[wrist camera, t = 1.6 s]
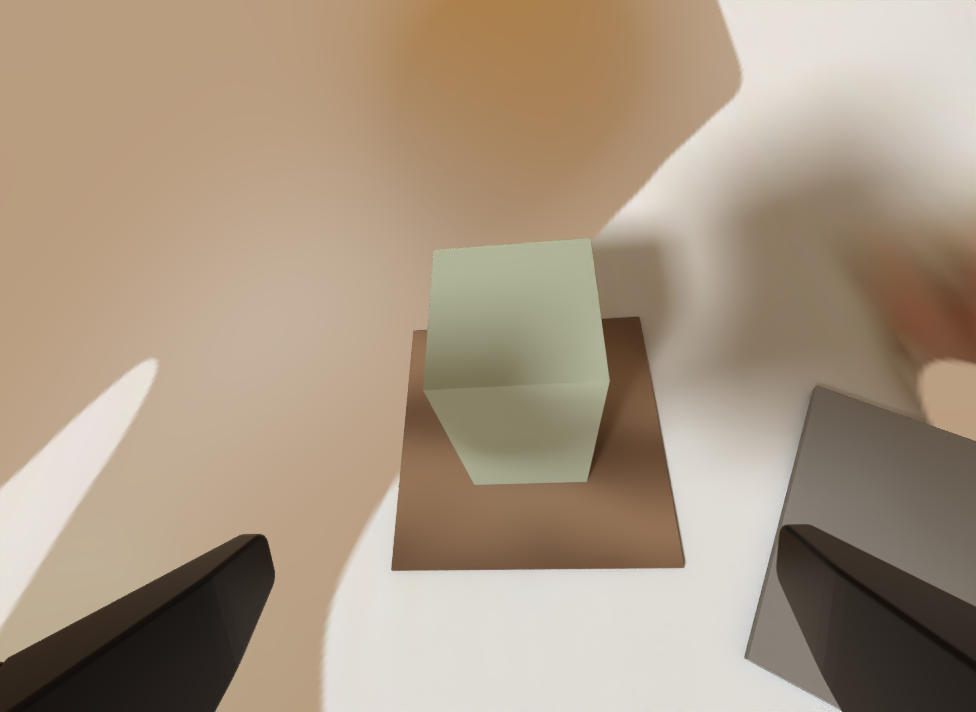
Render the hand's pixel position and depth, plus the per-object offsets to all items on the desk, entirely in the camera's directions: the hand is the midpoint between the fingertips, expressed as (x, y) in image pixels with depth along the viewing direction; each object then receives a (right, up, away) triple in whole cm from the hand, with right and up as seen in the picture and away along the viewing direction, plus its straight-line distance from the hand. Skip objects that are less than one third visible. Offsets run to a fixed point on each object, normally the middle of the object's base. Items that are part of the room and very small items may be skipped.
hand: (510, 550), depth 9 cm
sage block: (+1, 0, +14) cm, 14 cm away
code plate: (+2, 0, +15) cm, 15 cm away
